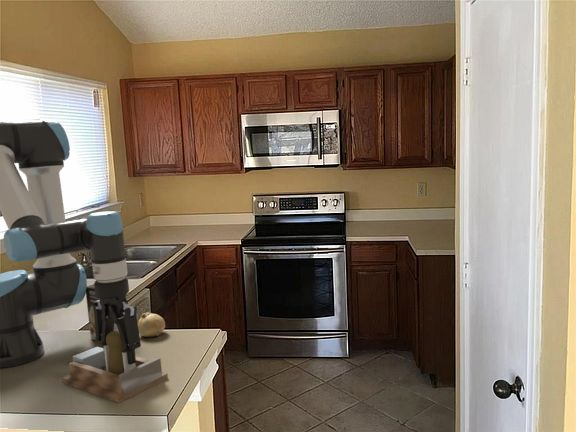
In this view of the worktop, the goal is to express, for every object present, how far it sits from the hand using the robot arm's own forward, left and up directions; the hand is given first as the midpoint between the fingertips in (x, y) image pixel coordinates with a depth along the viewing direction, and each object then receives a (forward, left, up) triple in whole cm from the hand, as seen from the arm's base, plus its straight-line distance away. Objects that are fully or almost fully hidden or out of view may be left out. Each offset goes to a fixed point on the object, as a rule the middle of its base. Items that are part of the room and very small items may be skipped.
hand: (121, 373), depth 129 cm
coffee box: (-30, +18, -3) cm, 35 cm away
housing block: (-12, 0, -1) cm, 12 cm away
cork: (0, 0, -1) cm, 1 cm away
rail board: (-3, 0, -2) cm, 4 cm away
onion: (-20, +26, -3) cm, 33 cm away
